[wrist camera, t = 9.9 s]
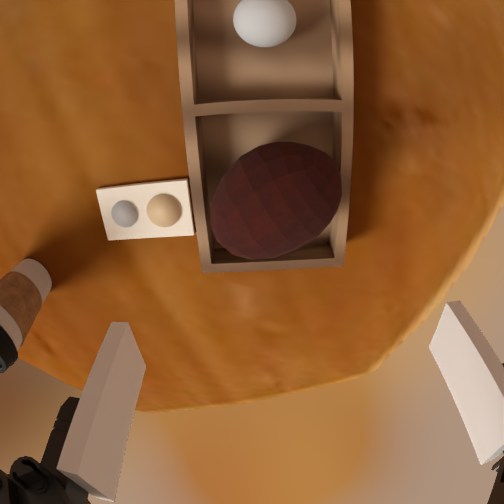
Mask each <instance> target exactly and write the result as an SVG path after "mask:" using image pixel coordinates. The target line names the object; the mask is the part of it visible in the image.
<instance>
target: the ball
mask: <svg viewBox="0 0 504 504" xmlns="http://www.w3.org/2000/svg"><path fill="white" fill-rule="evenodd" d="M233 23H234V27H235V30H236V32H237V33H238V35H239V36H240V37H241V38H242V39H243V40H244V41H246V42H247V43H249V44H251V45H254V46H257V47H273V46H277V45H279V44H281V43H283V42H285V41H286V40H287V39H288V38H289V37H290V36H291V35H292V34H293V32H294V30H295V27H296V14H295V11H294V8H293V7H292V5H291V4H290V3H289V2H288V1H287V0H242V1H241V2H240V3H239V4H238V5H237V7H236V9H235V11H234V16H233Z"/></svg>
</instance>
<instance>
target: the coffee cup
mask: <svg viewBox="0 0 504 504" xmlns="http://www.w3.org/2000/svg"><path fill="white" fill-rule="evenodd" d="M51 287H52V281H51V277H50V275H49V273H48V271H47V270H46V269H45V267H44V266H43V265H42V264H40V263H39V262H38V261H36V260H34V259H24V260H22V261H21V262H20V263H19V264H18V265H17V266H16V267H14V268H13V269H12V270H11V271H10V272H9V273H7V274H6V275H5V276H4V277H3V278H2V279H1V280H0V373H4V372H5V371H6V370H7V368H8V367H9V366H12V365H13V364H14V362H15V361H16V360H17V358H18V352H17V351H18V349H19V347H20V346H22V344H23V342H24V340H25V338H26V336H27V334H28V332H29V330H30V328H31V326H32V324H33V322H34V320H35V318H36V316H37V314H38V312H39V310H40V308H41V306H42V304H43V302H44V300H45V298H46V297H47V295H48V293H49V292H50V290H51Z"/></svg>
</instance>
